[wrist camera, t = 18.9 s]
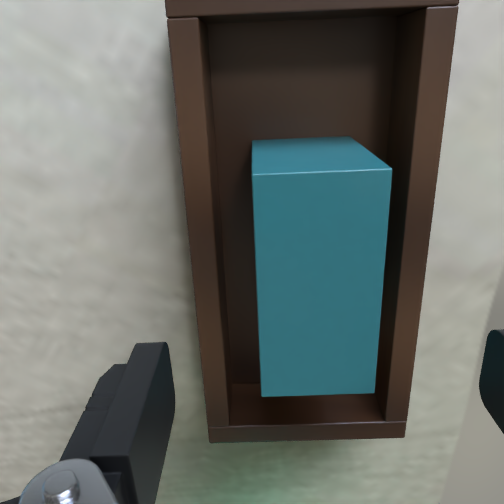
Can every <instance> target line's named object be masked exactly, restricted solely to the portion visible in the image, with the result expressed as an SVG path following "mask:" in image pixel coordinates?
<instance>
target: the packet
mask: <svg viewBox="0 0 504 504" xmlns="http://www.w3.org/2000/svg"><path fill="white" fill-rule="evenodd" d="M391 180H392V168H391V167H389V166H388V165H387V164H385V163H384V162H383V161H382V160H380V159H379V158H378V157H376V156H375V155H374V154H372V153H371V152H370V151H369V150H367V149H366V148H365V147H363V146H362V145H361V144H359V143H358V142H357V141H355V140H354V139H353V138H352V137H350V136H340V137H316V138H293V139H270V140H253V141H252V197H253V220H254V243H255V266H256V289H257V312H258V335H259V358H260V381H261V396H262V397H275V396H305V395H335V394H365V393H374V392H375V379H376V367H377V354H378V342H379V329H380V317H381V305H382V292H383V280H384V267H385V255H386V242H387V230H388V218H389V205H390V193H391Z"/></svg>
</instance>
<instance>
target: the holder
mask: <svg viewBox="0 0 504 504" xmlns="http://www.w3.org/2000/svg"><path fill="white" fill-rule="evenodd" d="M458 4H459V0H165V8H166V16H167V18H169V19H167V27H168V37H169V47H170V57H171V67H172V76H173V86H174V96H175V106H176V116H177V126H178V136H179V146H180V156H181V166H182V176H183V186H184V195H185V205H186V215H187V225H188V235H189V245H190V255H191V265H192V275H193V285H194V295H195V305H196V315H197V324H198V334H199V344H200V354H201V364H202V374H203V384H204V394H205V404H206V414H207V424H208V433H209V442H210V443H238V442H273V441H308V440H342V439H377V438H404V437H405V430H406V421H407V416H408V408H409V400H410V392H411V384H412V376H413V368H414V360H415V352H416V344H417V336H418V327H419V319H420V311H421V303H422V295H423V287H424V279H425V271H426V263H427V255H428V247H429V239H430V231H431V223H432V215H433V207H434V199H435V191H436V183H437V175H438V167H439V159H440V151H441V142H442V134H443V126H444V118H445V110H446V102H447V94H448V86H449V78H450V70H451V62H452V54H453V46H454V38H455V30H456V22H457V14H458V6H456V5H458ZM340 136H350V137H352V138H353V139H354V140H355V141H357V142H358V143H359V144H361V145H362V146H363V147H365V148H366V149H367V150H369V151H370V152H371V153H372V154H374V155H375V156H376V157H378V158H379V159H380V160H382V161H383V162H384V163H385V164H387V165H388V166H389V167H391V168H392V180H391V193H390V205H389V218H388V230H387V242H386V255H385V267H384V280H383V292H382V305H381V317H380V329H379V342H378V354H377V367H376V379H375V392H374V393H365V394H335V395H305V396H275V397H262V396H261V381H260V358H259V335H258V312H257V289H256V266H255V243H254V220H253V197H252V141H253V140H270V139H293V138H316V137H340Z"/></svg>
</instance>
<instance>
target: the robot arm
mask: <svg viewBox="0 0 504 504" xmlns="http://www.w3.org/2000/svg"><path fill="white" fill-rule="evenodd" d="M479 389H480V395H481V399H482V401H483V403H484V406H485V407H486V409H487V410H488V412H489V413H490V415H491V416H492V418H493V419H494V421H495V422H496V424H497V425H498V427H499V428H500V429H501V431H502V432H503V434H504V329H503V330H492V331H490V333H489V334H488V337H487V341H486V347H485V353H484V358H483V363H482V369H481V375H480V380H479ZM85 408H86V409H85V411H83V413H82V415H81V418H80V420H79V422H78V424H77V426H76V428H75V430H74V432H73V434H72V436H71V438H70V440H69V442H68V444H67V446H66V448H65V450H64V452H63V454H62V457H61V459H60V461H59V462H57V463H55V464H53V465H51V466H49V467H47V468H45V469H44V470H42V471H41V472H40V473H38V474H37V475H36V476H35V477H34V478H33V479H32V480H31V481H30V482H29V483H28V484H27V486H26V487H25V489H24V490H23V492H22V494H21V496H19V497H16V498H14V499H11V500H8V501H5V502H1V503H0V504H155V500H156V496H157V491H158V487H159V482H160V478H161V473H162V469H163V464H164V460H165V455H166V451H167V446H168V442H169V437H170V433H171V428H172V424H173V419H174V413H175V390H174V383H173V376H172V368H171V361H170V354H169V348H168V344H167V343H166V342H155V343H137V344H136V345H135V346H134V348H133V351H132V353H131V356H130V358H129V360H128V363H127V364H114V365H113V366H112V367H111V368H110V369H109V370H108V371H107V372H106V373H105V374H104V375H103V376H102V377H100V379H99V381H98V383H97V385H96V387H95V389H94V391H93V393H92V397H90V399H89V401H88V403H87V405H86V407H85Z"/></svg>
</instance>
